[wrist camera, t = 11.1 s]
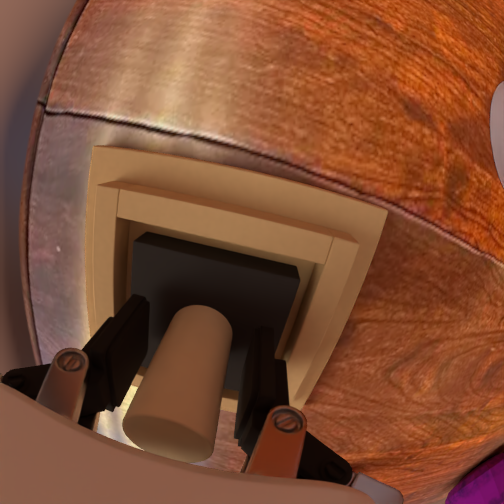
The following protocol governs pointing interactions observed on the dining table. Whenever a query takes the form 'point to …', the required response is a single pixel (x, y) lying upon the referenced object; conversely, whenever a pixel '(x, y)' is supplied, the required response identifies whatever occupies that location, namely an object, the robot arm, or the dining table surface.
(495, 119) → the wedge on round base
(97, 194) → the base pad
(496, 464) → the decorative plant
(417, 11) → the dining table surface
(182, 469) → the robot arm
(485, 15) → the dining table surface
